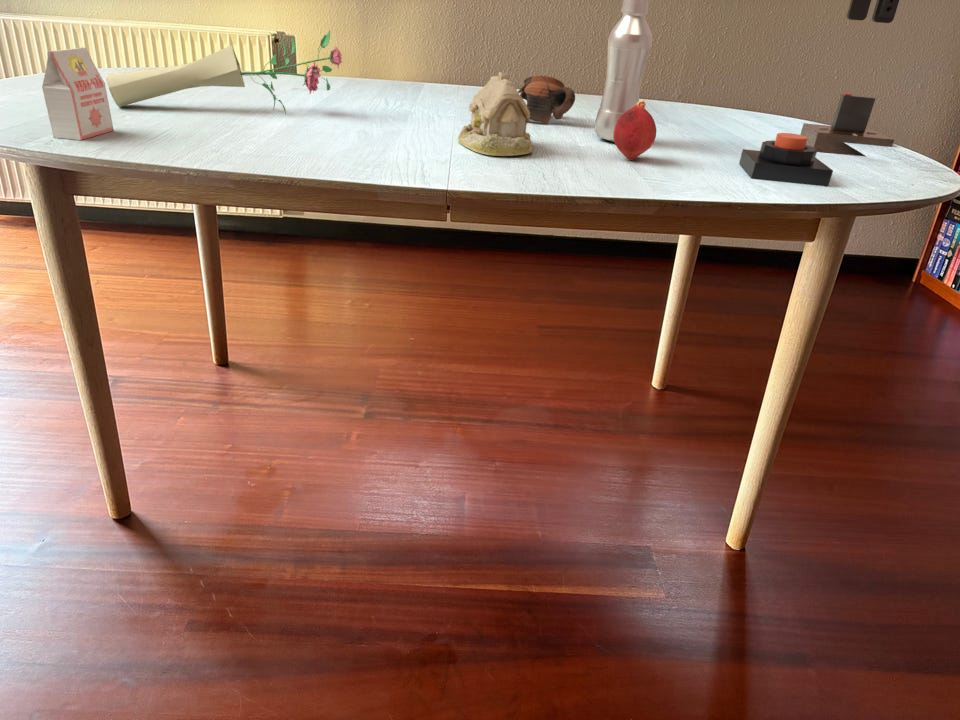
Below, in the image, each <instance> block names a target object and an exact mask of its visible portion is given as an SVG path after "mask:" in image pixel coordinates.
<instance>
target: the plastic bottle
mask: <svg viewBox="0 0 960 720" xmlns="http://www.w3.org/2000/svg"><path fill="white" fill-rule="evenodd" d="M649 4H650V0H622V6H621V10H620V13H622V15H621V18H620V19H619V20H618V22H616V24H615V25H614V26H613V28H612V29H611V31H610V33H609V35H608V37H607V58H606V59H607V60H606V61H607V62H606V75H605V76H606V78H605V83H604V87H603V92H602V96H601V101H600V105H599V106H600V107H598V110H597V114H596V116H595V120H594V132H595V134H596V136H597V137H598V138H599V139H603V140H604V141H605V140H606V141H608V142H611V143H615V142H614V139H613V135H614V128H615V125H616V123H617V121H618V120H619V118H620V117H621V116H622V115H623V114H624V113H625V112H626V111H628V110H629V109H631V108H633V107H634V106H635V105H636V104H637V103H638V102H639V101H640V94H641V93H640V92H641V88H642V80H643V78H644V73H645V69H646V66H647V62H648V60H649V57H650V53H651V49H652V46H653V42H654V41H653V34H652V33H653V32H652V30H651V27H650V26H649V24H648V22H647V20H646V16H647V15H649V6H650V5H649Z"/></svg>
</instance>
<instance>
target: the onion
mask: <svg viewBox="0 0 960 720" xmlns="http://www.w3.org/2000/svg"><path fill="white" fill-rule="evenodd" d="M646 105H647V103H646V102H645V101H644V100H639V102H638V103H637V104H636V105H635V106H634V107H633V108H631V109H629V110H628V111H626V112H625V113H624V114H623V115H622V116H621V117H620V118H619V120H618V121H617V123H616V125H615V128H614V135H613V139H614V142H613V143H614V145H615V147H616V148H617V150H618V151H619V152H620V153H621V154H622V155H623V156H624V157H625V158H626V159H627V160H628V161H634V160H636V159H638V157H639V156H641V155H642V154H644V153H646V152H647V151H648V150H649V149H651V147H652V146H653V145H654V144H655V140H656V137H657V124H656V122H655V119H654V118H653V116H652V115H651V113H650V112H649V111H648V110H647V109H646V107H645V106H646Z"/></svg>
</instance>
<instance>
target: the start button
mask: <svg viewBox="0 0 960 720" xmlns="http://www.w3.org/2000/svg"><path fill="white" fill-rule="evenodd" d="M807 140H808V137H806V136H803V135H800V134H798V133H793V132H777V133H776V135H775V140H774V141H775V143H774V146H778V147H782V148H787V149H796V150H805V147H806V144H807Z"/></svg>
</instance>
